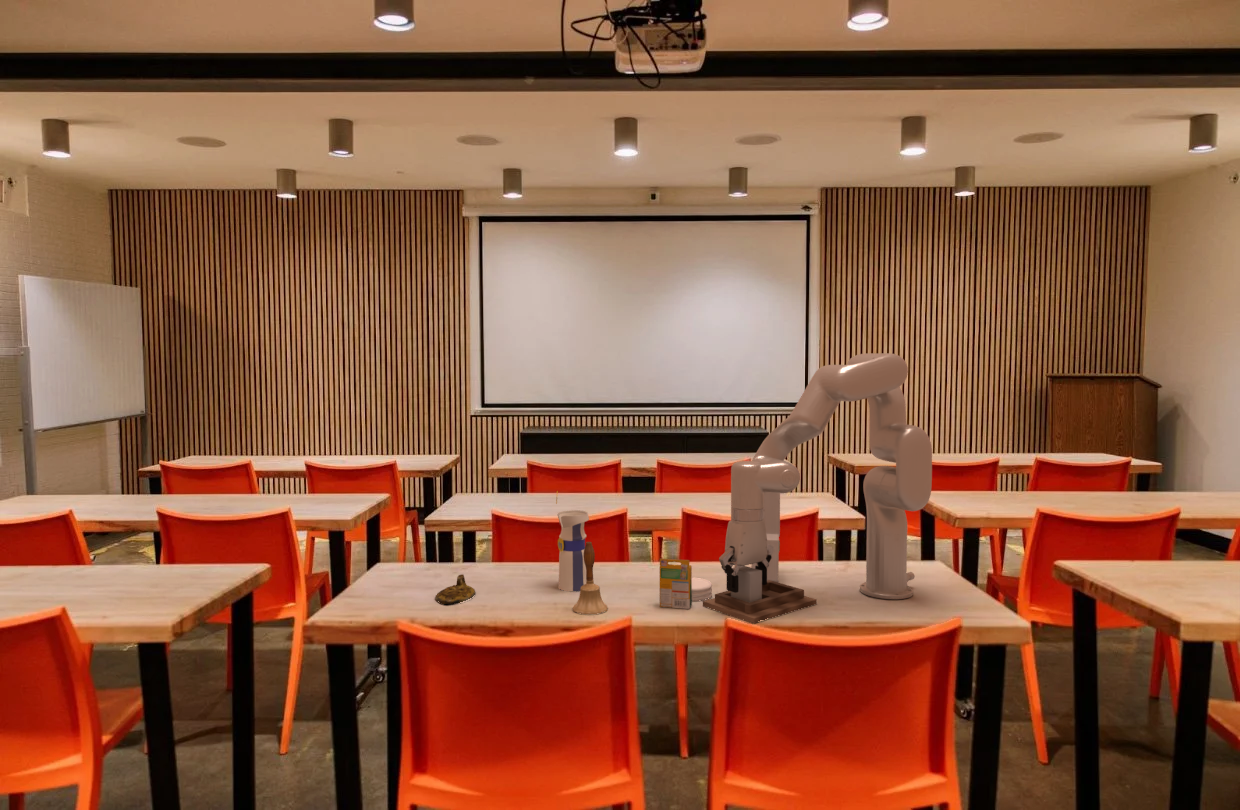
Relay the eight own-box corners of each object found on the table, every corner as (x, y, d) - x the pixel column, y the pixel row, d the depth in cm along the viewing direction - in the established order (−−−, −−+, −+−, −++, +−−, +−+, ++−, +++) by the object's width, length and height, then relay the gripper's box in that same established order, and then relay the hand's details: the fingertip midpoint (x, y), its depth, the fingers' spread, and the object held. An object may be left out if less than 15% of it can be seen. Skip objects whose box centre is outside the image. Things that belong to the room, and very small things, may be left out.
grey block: (742, 598, 187) (742, 565, 187) (761, 604, 182) (761, 570, 182) (730, 601, 185) (731, 568, 184) (750, 607, 180) (750, 573, 179)
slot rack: (765, 589, 199) (765, 576, 199) (816, 604, 187) (816, 591, 186) (702, 606, 185) (702, 592, 185) (753, 623, 173) (753, 609, 173)
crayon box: (692, 605, 186) (692, 557, 185) (689, 609, 183) (689, 560, 183) (661, 603, 188) (661, 555, 187) (659, 607, 185) (659, 558, 184)
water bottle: (563, 594, 196) (562, 494, 194) (552, 585, 203) (551, 489, 202) (594, 590, 199) (593, 492, 198) (582, 581, 207) (581, 487, 205)
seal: (468, 611, 187) (479, 592, 202) (469, 591, 187) (481, 574, 202) (429, 607, 187) (443, 588, 202) (430, 587, 187) (445, 570, 202)
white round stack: (720, 595, 195) (720, 581, 194) (695, 605, 187) (695, 590, 187) (687, 588, 201) (687, 574, 201) (663, 596, 194) (663, 582, 194)
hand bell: (595, 617, 178) (594, 547, 177) (565, 611, 182) (564, 543, 181) (614, 607, 185) (614, 540, 184) (585, 602, 189) (585, 536, 188)
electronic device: (779, 585, 203) (780, 469, 201) (750, 583, 204) (750, 469, 203) (779, 572, 215) (780, 463, 213) (751, 571, 216) (752, 462, 215)
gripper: (760, 508, 190) (759, 577, 191) (709, 517, 180) (709, 590, 181) (784, 512, 184) (783, 584, 185) (733, 522, 174) (732, 598, 175)
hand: (746, 587), depth 183 cm, fingers open, 9 cm apart
